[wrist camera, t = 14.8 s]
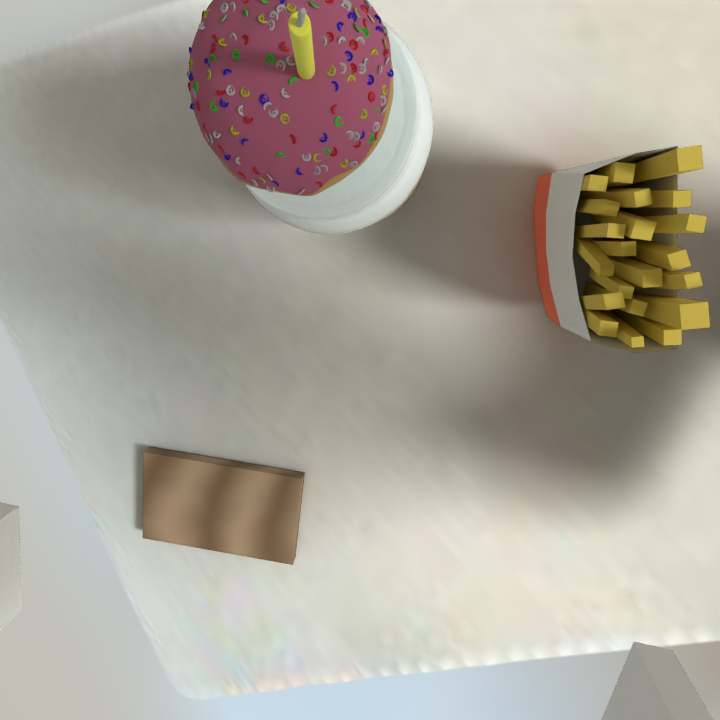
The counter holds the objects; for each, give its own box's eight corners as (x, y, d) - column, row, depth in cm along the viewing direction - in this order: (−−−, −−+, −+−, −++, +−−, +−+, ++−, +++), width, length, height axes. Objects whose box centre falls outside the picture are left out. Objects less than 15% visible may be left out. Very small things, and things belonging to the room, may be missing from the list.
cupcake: (386, -4, 24) (363, -210, 12) (405, 186, 26) (401, 165, 14) (212, 30, 25) (39, -130, 13) (245, 210, 27) (122, 207, 15)
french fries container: (535, 311, 44) (614, 374, 26) (525, 179, 41) (608, 155, 24) (590, 303, 43) (709, 363, 26) (584, 169, 40) (714, 136, 23)
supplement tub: (250, 131, 42) (148, 80, 26) (370, 32, 39) (341, -96, 23) (335, 256, 44) (291, 281, 28) (455, 170, 41) (484, 143, 25)
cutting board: (304, 472, 50) (302, 478, 49) (295, 557, 53) (292, 564, 52) (149, 446, 51) (143, 452, 50) (148, 531, 54) (142, 537, 53)
